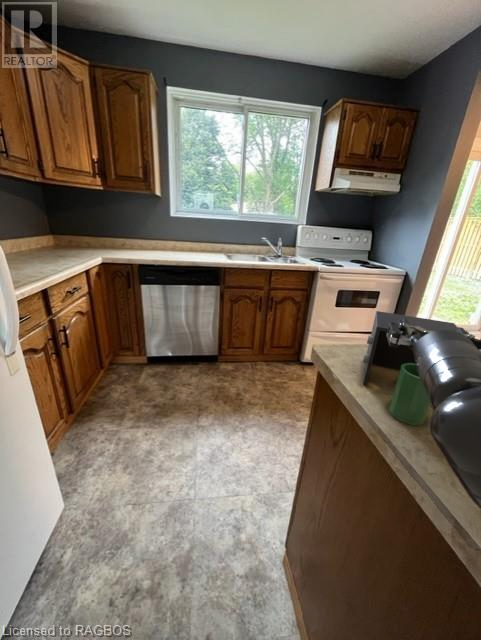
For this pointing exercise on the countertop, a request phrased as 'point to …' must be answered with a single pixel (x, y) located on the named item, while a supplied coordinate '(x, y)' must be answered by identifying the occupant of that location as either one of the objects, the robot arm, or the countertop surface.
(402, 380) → the green cylinder
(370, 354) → the dark grey open box
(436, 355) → the robot arm
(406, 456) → the countertop surface
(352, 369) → the countertop surface
